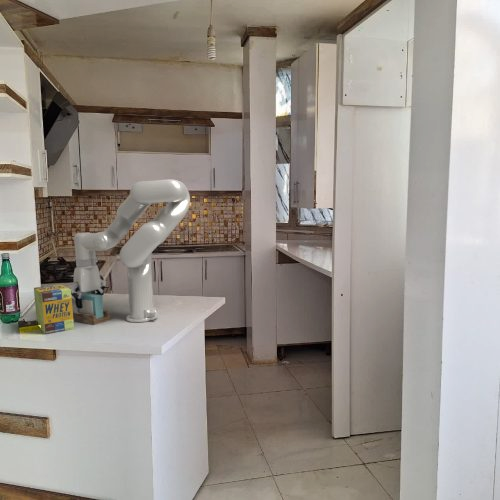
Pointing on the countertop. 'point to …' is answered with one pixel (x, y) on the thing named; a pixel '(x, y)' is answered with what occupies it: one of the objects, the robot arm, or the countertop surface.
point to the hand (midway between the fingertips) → (89, 305)
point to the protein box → (54, 308)
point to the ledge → (90, 318)
